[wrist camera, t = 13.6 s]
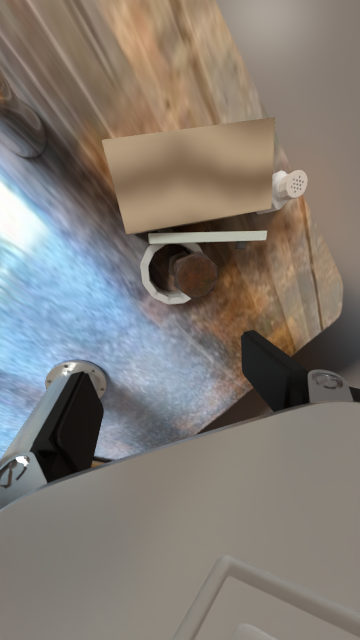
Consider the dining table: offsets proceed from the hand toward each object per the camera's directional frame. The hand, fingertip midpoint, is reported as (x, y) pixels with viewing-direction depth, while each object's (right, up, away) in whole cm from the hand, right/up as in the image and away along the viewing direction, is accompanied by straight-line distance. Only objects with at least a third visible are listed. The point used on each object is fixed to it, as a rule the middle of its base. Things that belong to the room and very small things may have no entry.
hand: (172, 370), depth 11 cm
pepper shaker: (+15, +25, +23) cm, 37 cm away
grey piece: (+3, +12, +23) cm, 26 cm away
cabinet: (+1, +18, +23) cm, 29 cm away
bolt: (0, +14, +25) cm, 29 cm away
